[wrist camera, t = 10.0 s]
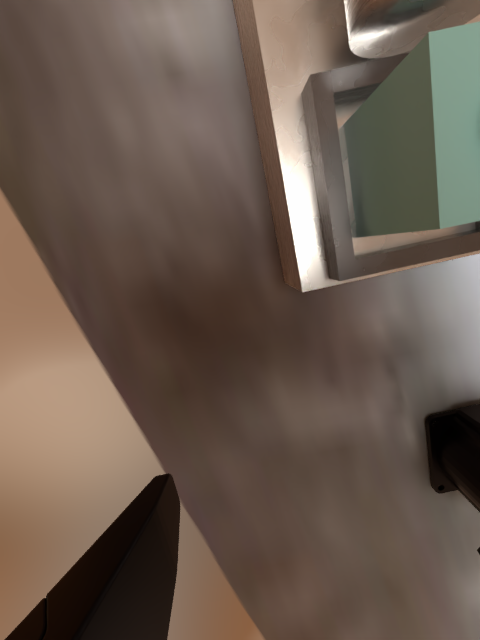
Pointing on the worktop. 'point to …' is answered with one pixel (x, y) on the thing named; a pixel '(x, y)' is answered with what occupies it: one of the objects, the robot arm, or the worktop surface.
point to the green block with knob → (420, 140)
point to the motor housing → (334, 127)
